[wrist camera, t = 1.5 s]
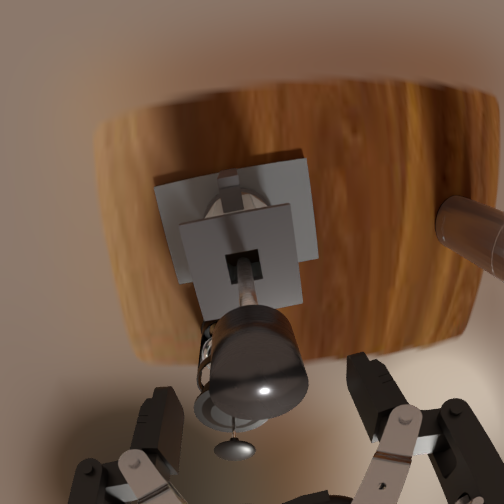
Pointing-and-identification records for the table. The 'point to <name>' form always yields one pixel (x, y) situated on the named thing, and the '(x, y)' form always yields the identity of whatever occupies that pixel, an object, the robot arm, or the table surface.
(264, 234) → the carafe
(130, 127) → the table surface
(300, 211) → the slate board
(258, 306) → the plunger
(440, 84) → the table surface
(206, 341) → the french press
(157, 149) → the table surface
